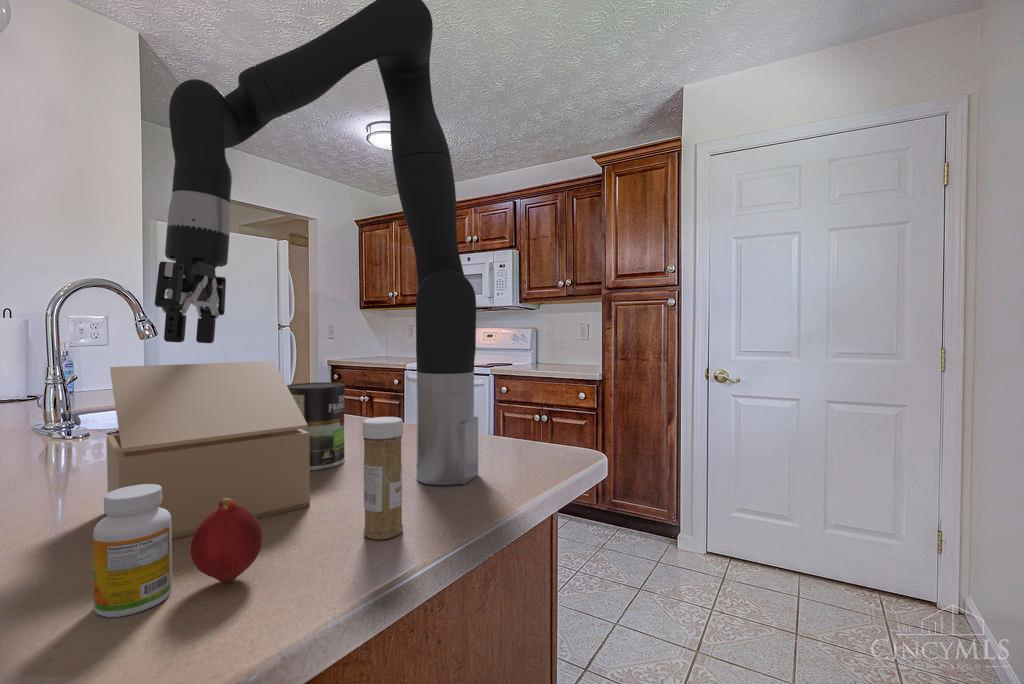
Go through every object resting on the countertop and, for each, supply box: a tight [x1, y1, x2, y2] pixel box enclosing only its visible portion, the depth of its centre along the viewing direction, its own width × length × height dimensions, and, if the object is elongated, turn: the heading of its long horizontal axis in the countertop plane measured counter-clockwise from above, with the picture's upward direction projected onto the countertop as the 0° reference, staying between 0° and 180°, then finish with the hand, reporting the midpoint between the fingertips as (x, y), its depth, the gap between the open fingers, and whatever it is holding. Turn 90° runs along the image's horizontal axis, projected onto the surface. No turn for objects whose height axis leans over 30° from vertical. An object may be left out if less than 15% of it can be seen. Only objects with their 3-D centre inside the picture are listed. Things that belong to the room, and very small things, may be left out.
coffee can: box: [286, 381, 346, 471], centre depth 87 cm, size 10×10×14 cm
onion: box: [189, 498, 264, 584], centre depth 46 cm, size 6×6×8 cm
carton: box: [106, 429, 311, 541], centre depth 64 cm, size 16×20×10 cm
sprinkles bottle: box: [362, 416, 404, 541], centre depth 57 cm, size 5×5×13 cm
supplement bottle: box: [92, 484, 173, 618], centre depth 42 cm, size 5×5×10 cm
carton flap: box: [109, 360, 308, 453], centre depth 63 cm, size 16×19×1 cm
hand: (190, 342), depth 69 cm, fingers open, 8 cm apart
